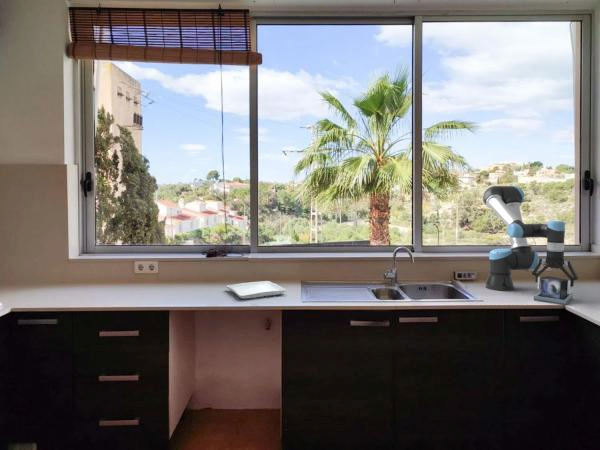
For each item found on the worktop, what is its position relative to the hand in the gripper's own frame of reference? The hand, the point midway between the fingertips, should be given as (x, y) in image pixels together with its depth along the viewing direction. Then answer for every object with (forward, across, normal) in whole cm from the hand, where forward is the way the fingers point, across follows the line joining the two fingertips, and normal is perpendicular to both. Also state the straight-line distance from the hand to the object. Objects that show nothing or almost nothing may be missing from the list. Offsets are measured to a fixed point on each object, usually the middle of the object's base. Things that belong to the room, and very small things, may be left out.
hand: (553, 290), depth 200 cm
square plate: (+5, -126, -99) cm, 160 cm away
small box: (+4, 0, 0) cm, 4 cm away
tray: (+5, 0, 0) cm, 5 cm away
